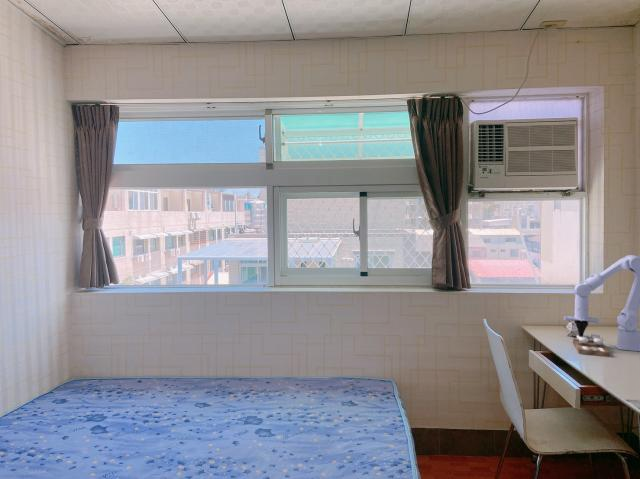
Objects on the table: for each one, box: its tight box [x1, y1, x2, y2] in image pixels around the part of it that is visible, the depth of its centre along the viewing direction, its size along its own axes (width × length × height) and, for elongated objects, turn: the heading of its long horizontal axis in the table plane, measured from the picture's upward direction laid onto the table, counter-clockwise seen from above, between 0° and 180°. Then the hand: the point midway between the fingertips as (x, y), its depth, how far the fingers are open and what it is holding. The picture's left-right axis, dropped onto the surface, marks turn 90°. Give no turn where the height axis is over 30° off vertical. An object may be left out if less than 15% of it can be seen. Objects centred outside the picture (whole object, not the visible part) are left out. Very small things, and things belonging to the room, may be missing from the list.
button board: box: [572, 338, 611, 358], centre depth 206 cm, size 12×19×2 cm, turn 157°
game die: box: [564, 321, 579, 337], centre depth 227 cm, size 9×8×10 cm
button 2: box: [590, 333, 601, 340], centre depth 210 cm, size 4×4×2 cm
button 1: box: [579, 336, 589, 343], centre depth 206 cm, size 4×4×2 cm
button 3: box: [594, 338, 604, 344], centre depth 204 cm, size 4×4×2 cm
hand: (580, 336), depth 213 cm, fingers closed, pressing on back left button
